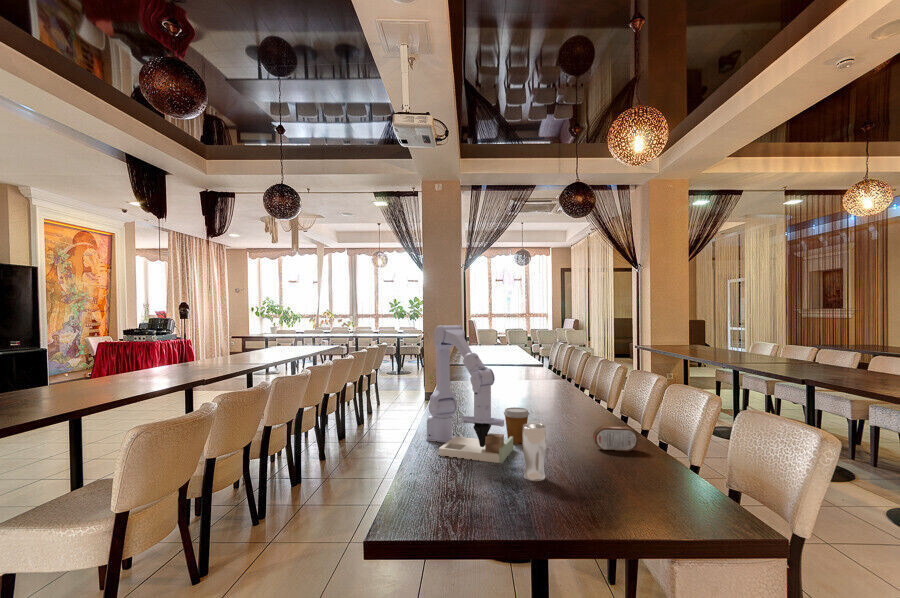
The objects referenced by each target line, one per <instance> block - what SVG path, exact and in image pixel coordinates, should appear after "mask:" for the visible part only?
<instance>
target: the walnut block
mask: <svg viewBox="0 0 900 598" xmlns="http://www.w3.org/2000/svg"><path fill="white" fill-rule="evenodd" d="M504 442H505V434H503V433H494V432H493V433H492V432H491V433H490V432H488V435H487V436H486V437H485V452H489V453H498V454H499V448H500V447H501V446H502V445H503V444H504Z"/></svg>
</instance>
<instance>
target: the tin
mask: <svg viewBox="0 0 900 598" xmlns="http://www.w3.org/2000/svg"><path fill="white" fill-rule="evenodd" d="M592 440H593V442H594V444H595V445H596V446H597V448H599V449H600V450H602V451H605V450H615V451H614V452H631V451H633V450H635V449H636V447H638V445H639V437H638V434H637V433H636V432H635V430H634V429H633V428H632V427H629V426H626V425H625V426H624V425H623V426H622V425H620V426H619V425H600V426H598V427H597V428H596V429H595V431H594V432H593V435H592Z"/></svg>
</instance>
